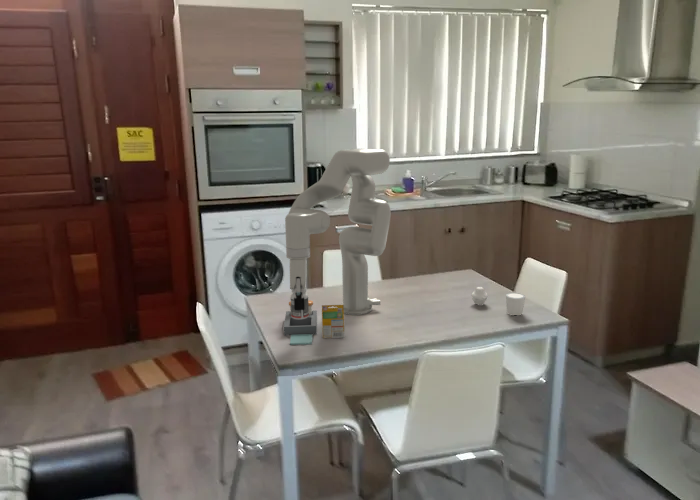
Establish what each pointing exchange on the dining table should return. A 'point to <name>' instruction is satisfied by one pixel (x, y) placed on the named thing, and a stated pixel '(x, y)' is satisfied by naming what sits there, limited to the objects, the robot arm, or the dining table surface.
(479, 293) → the white rounded lump
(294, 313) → the pill bottle
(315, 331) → the housing
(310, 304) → the plunger
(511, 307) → the shot glass
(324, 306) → the crayon box
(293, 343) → the pad
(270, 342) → the dining table surface
